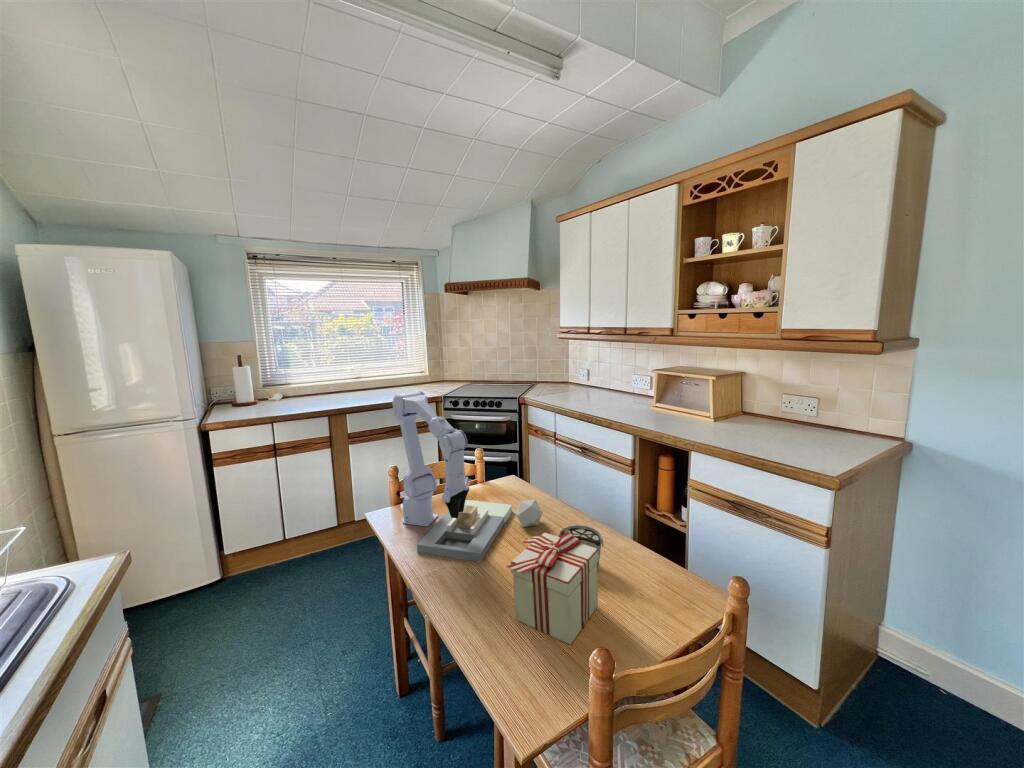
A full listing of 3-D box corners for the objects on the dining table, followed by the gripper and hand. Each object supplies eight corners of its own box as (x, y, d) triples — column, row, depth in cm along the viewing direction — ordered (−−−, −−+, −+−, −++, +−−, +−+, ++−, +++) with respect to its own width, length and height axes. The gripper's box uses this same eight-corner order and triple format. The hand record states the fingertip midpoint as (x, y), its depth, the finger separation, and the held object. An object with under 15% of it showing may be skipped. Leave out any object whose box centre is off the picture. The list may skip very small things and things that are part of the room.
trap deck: (417, 552, 124) (416, 538, 123) (459, 505, 153) (459, 494, 153) (480, 561, 118) (480, 547, 118) (512, 511, 148) (511, 499, 147)
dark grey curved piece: (607, 562, 116) (608, 529, 115) (602, 575, 111) (603, 540, 109) (565, 553, 121) (564, 521, 120) (558, 564, 116) (558, 531, 114)
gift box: (532, 580, 110) (530, 519, 107) (600, 603, 100) (601, 537, 97) (497, 622, 95) (494, 553, 92) (573, 653, 86) (573, 577, 83)
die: (537, 534, 133) (549, 506, 136) (513, 522, 133) (526, 494, 135) (531, 531, 141) (543, 504, 144) (508, 519, 141) (521, 493, 143)
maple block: (457, 526, 133) (456, 511, 133) (463, 519, 138) (463, 504, 137) (472, 528, 132) (471, 513, 131) (477, 520, 137) (477, 506, 136)
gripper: (457, 482, 116) (459, 527, 119) (476, 464, 130) (478, 505, 132) (434, 480, 118) (437, 524, 121) (455, 462, 132) (457, 502, 134)
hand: (457, 514), depth 127 cm, fingers open, 3 cm apart
